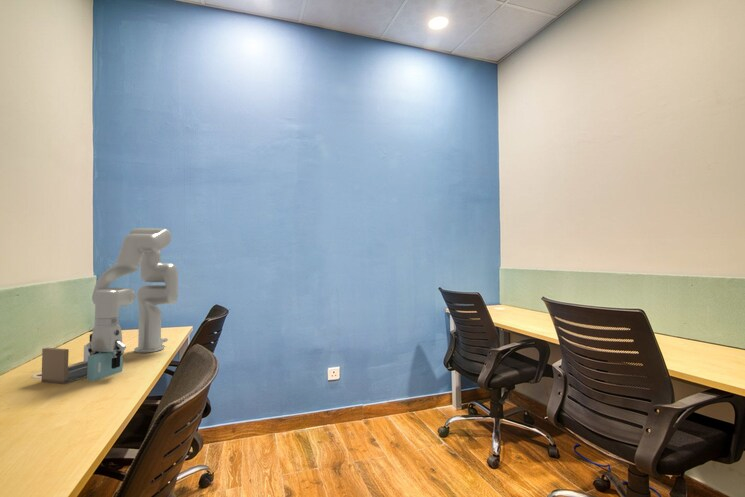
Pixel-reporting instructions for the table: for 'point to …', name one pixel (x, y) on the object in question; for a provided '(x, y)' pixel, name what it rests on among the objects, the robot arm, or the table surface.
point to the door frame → (60, 367)
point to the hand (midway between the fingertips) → (105, 366)
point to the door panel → (101, 366)
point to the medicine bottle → (86, 352)
